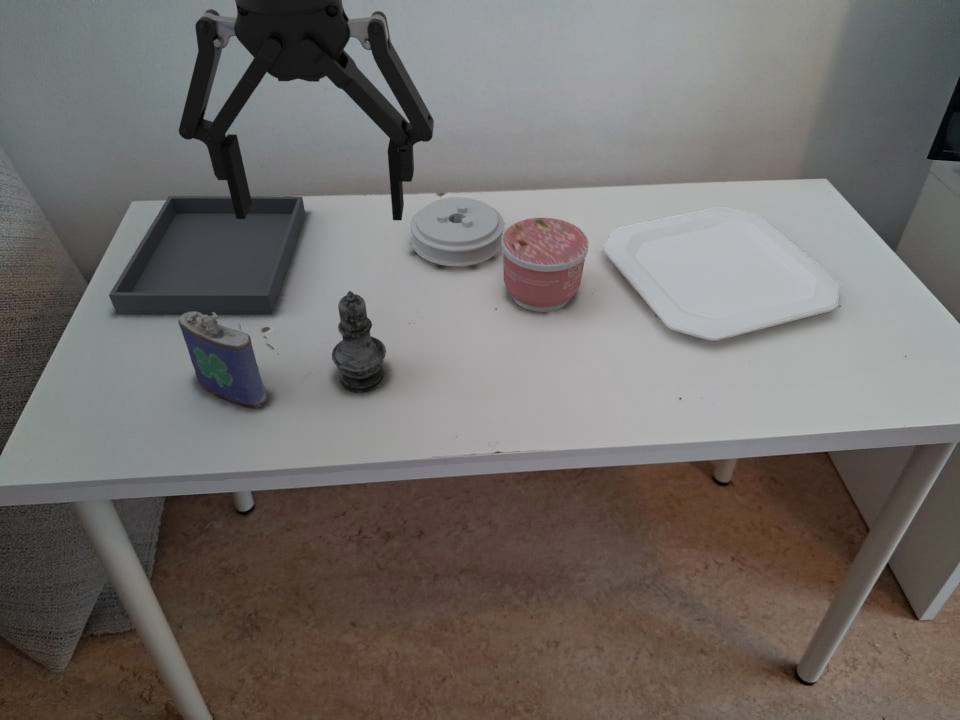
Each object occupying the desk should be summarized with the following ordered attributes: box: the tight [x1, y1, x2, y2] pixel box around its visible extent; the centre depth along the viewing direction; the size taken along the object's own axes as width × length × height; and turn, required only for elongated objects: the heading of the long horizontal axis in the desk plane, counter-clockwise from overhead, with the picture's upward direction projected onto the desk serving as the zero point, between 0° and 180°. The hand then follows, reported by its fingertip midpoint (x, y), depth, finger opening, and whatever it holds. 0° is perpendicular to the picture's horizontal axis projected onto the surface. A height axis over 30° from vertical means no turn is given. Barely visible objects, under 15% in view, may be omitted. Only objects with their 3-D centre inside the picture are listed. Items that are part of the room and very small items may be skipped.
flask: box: [177, 311, 268, 409], centre depth 76 cm, size 9×3×11 cm, turn 61°
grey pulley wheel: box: [410, 196, 505, 267], centre depth 99 cm, size 13×13×5 cm
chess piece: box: [331, 290, 387, 394], centre depth 78 cm, size 6×6×12 cm
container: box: [501, 217, 590, 313], centre depth 90 cm, size 10×10×8 cm
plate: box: [602, 205, 842, 342], centre depth 95 cm, size 25×25×2 cm
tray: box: [108, 195, 306, 315], centre depth 97 cm, size 23×19×3 cm
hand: (321, 212), depth 65 cm, fingers open, 13 cm apart
